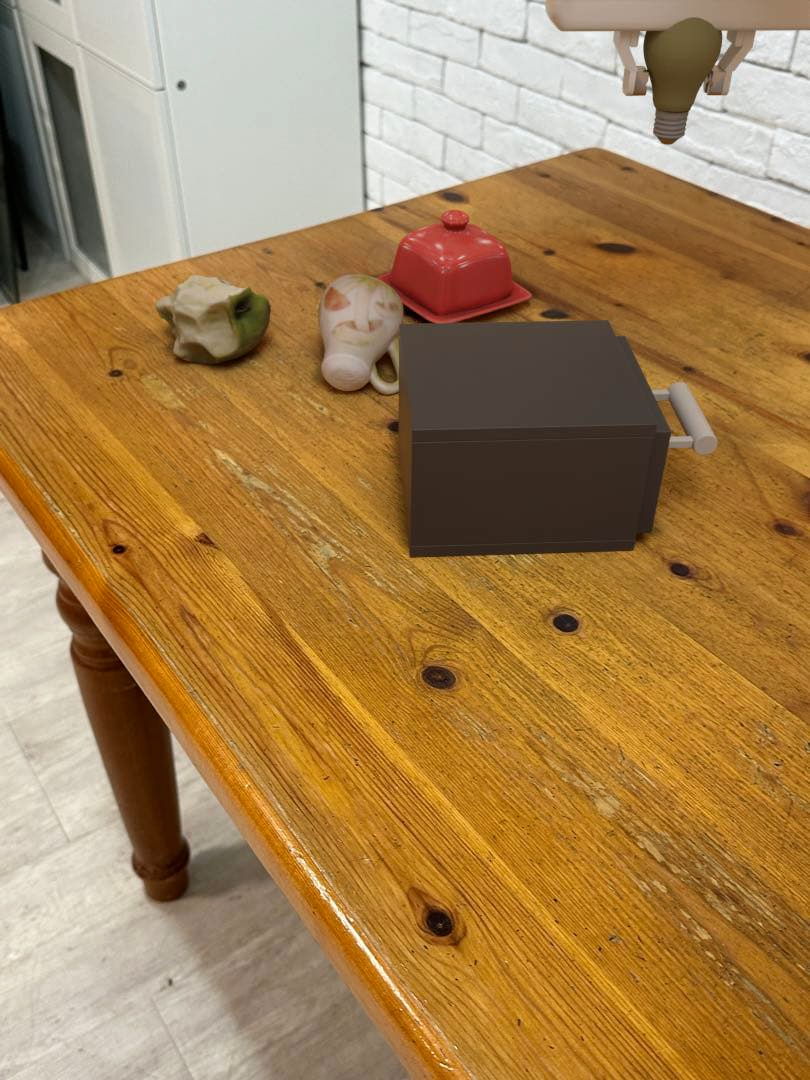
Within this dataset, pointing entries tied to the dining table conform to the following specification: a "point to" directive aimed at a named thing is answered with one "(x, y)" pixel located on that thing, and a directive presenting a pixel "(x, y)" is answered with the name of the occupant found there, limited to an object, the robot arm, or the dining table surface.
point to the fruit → (214, 319)
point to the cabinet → (520, 438)
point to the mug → (359, 331)
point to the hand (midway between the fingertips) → (673, 93)
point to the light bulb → (679, 71)
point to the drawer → (668, 432)
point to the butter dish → (453, 271)
